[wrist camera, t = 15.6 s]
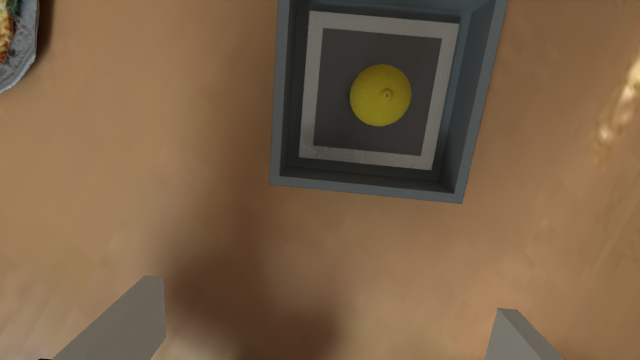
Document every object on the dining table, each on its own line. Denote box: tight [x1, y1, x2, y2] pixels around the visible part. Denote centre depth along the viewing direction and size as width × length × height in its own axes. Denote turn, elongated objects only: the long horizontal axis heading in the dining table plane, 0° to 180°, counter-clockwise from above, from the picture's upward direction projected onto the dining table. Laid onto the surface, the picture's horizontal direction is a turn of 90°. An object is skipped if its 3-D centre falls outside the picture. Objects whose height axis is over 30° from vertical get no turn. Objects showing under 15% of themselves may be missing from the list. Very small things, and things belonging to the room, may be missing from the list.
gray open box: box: [269, 0, 508, 204], centre depth 31 cm, size 20×20×7 cm
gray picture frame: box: [299, 11, 459, 170], centre depth 32 cm, size 15×15×1 cm
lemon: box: [350, 64, 411, 126], centre depth 28 cm, size 6×6×8 cm
